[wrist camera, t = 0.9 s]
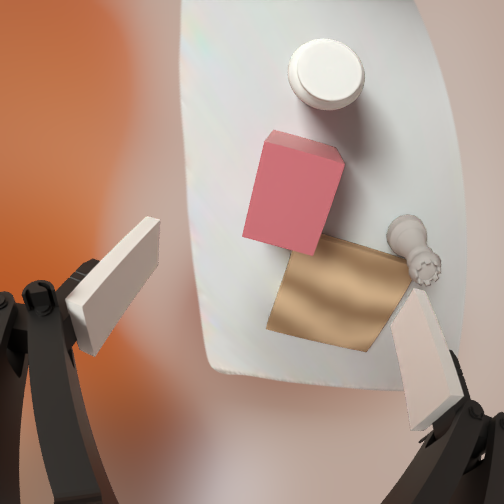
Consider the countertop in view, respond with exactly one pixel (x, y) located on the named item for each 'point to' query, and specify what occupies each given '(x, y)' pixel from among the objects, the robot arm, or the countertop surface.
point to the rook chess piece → (414, 248)
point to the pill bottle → (326, 74)
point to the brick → (293, 192)
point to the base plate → (339, 294)
